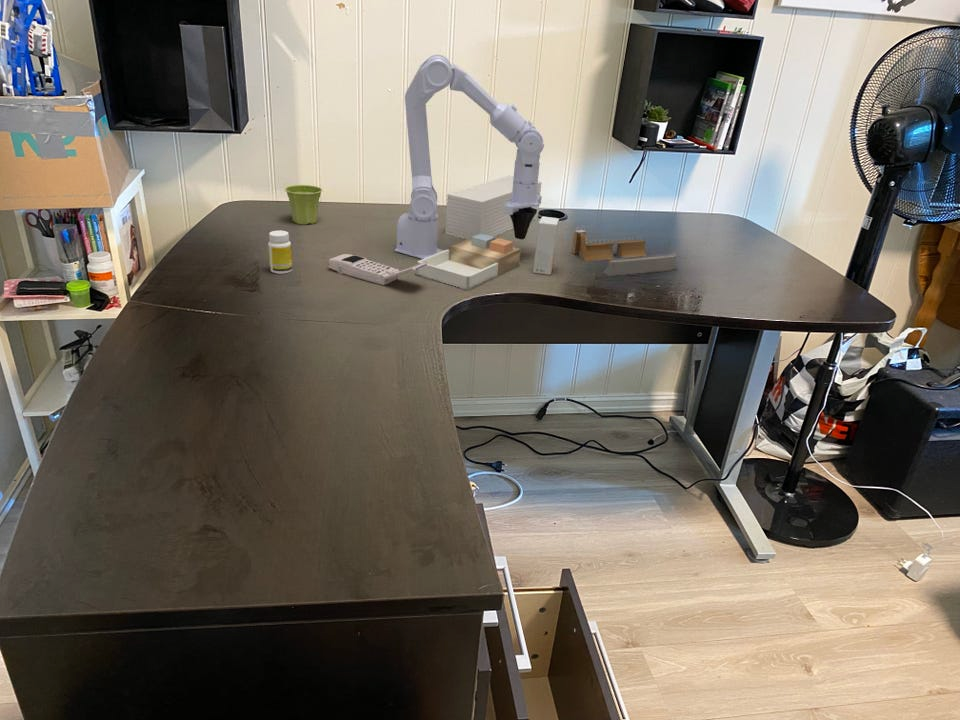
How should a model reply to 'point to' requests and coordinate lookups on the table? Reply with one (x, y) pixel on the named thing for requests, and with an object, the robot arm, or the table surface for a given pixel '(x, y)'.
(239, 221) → the table surface
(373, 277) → the mobile phone
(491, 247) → the terracotta tile
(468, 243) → the oak block
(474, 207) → the stack of papers
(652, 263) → the skate ramp
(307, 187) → the plant pot
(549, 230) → the skincare box
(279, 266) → the supplement bottle
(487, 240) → the blue tile
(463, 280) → the white tray
